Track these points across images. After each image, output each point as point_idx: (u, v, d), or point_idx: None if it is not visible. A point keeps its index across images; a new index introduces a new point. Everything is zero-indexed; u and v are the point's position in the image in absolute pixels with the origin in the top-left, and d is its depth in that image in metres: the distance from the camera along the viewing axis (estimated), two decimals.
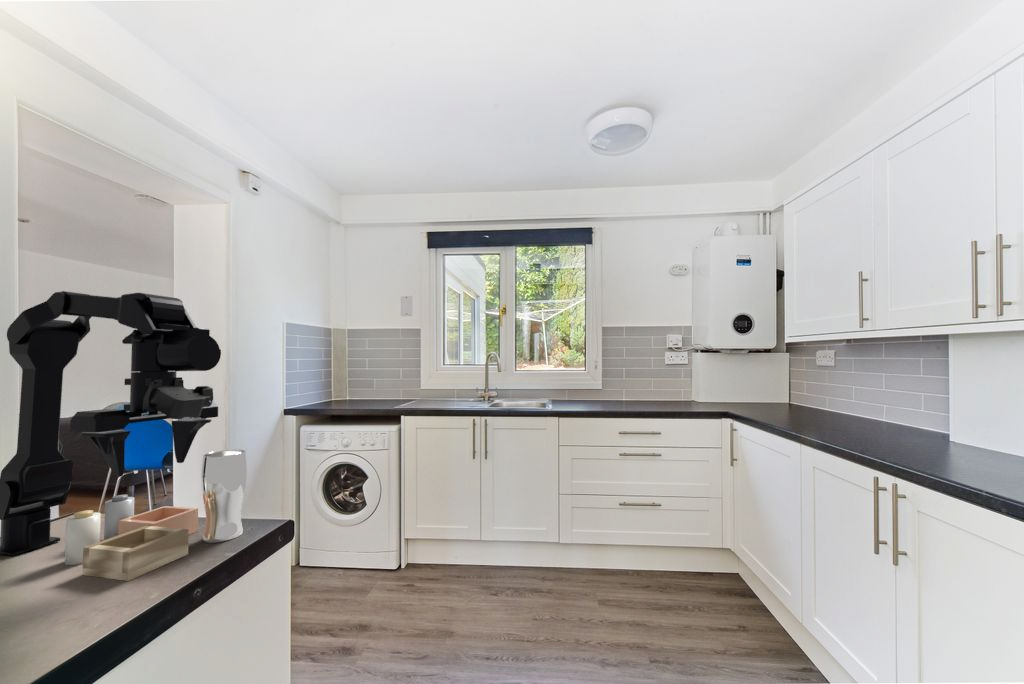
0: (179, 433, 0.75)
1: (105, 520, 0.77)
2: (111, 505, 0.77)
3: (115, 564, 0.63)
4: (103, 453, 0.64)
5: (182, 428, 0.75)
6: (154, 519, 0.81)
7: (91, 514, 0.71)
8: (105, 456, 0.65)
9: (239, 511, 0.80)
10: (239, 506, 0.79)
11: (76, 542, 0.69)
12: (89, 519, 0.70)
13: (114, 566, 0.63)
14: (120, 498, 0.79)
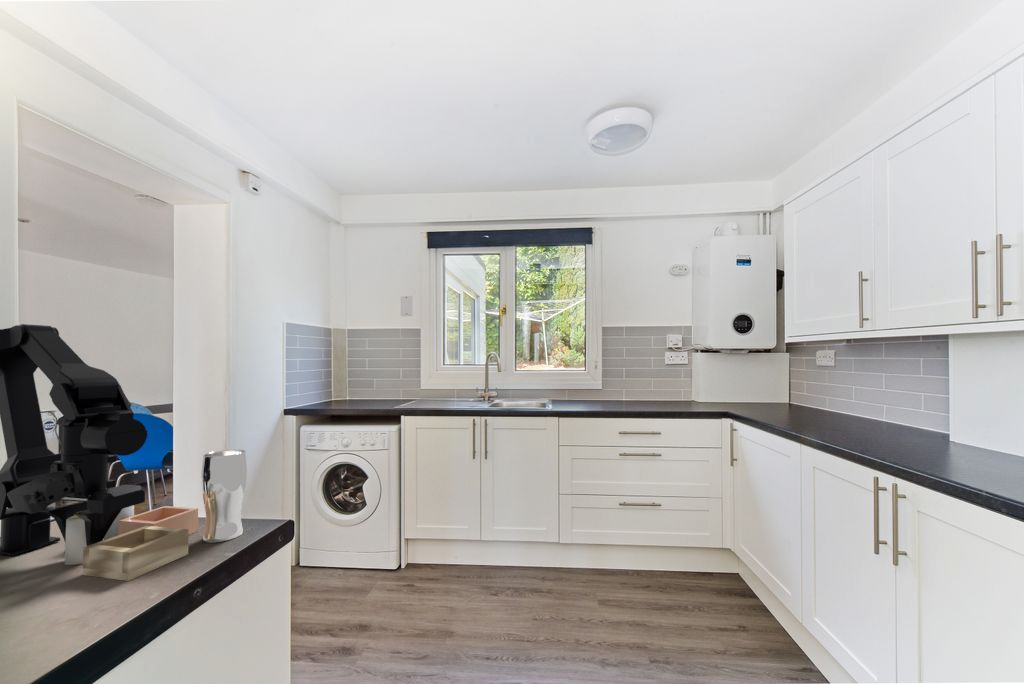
0: None
1: None
2: None
3: (115, 564, 0.63)
4: None
5: None
6: (154, 519, 0.81)
7: None
8: None
9: (239, 511, 0.80)
10: (239, 506, 0.79)
11: (76, 542, 0.69)
12: None
13: (114, 566, 0.63)
14: None
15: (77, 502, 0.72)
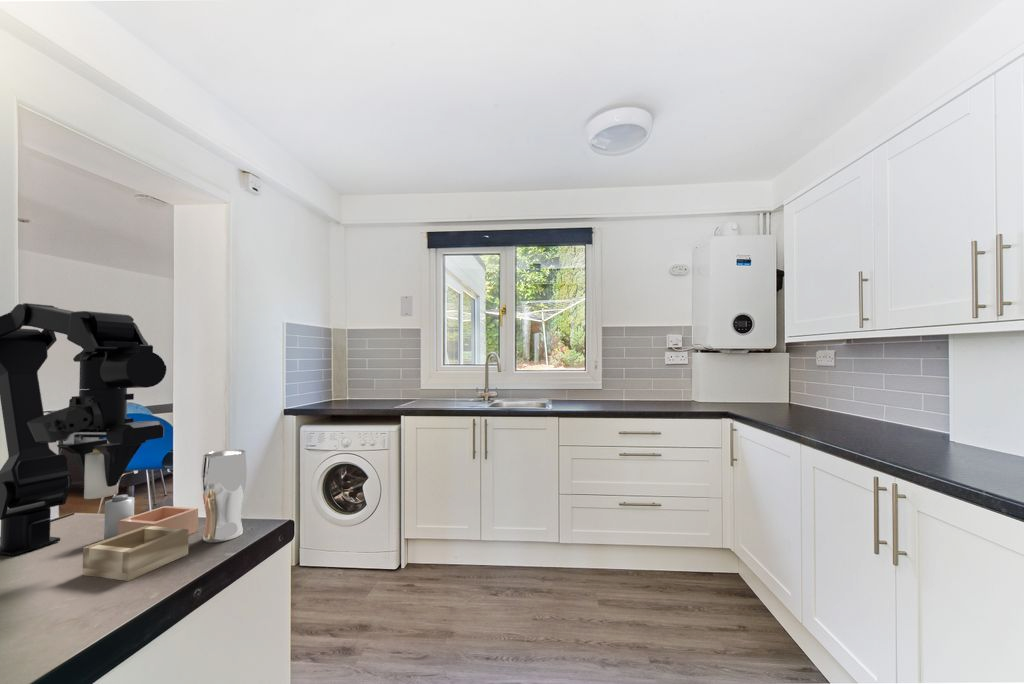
0: None
1: (105, 520, 0.77)
2: (111, 505, 0.77)
3: (115, 564, 0.63)
4: None
5: None
6: (154, 519, 0.81)
7: None
8: None
9: (239, 511, 0.80)
10: (239, 506, 0.79)
11: (95, 476, 0.68)
12: None
13: (114, 566, 0.63)
14: (120, 498, 0.79)
15: (95, 440, 0.72)
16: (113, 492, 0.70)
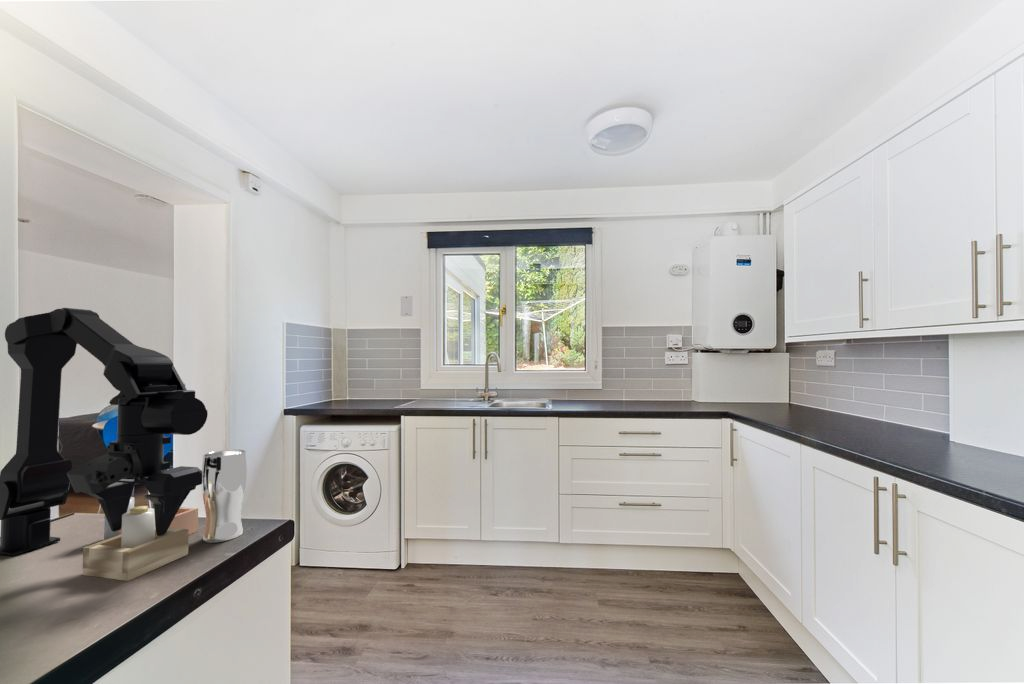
0: None
1: (105, 520, 0.77)
2: None
3: (115, 564, 0.63)
4: None
5: None
6: None
7: (146, 510, 0.69)
8: None
9: (239, 511, 0.80)
10: (239, 506, 0.79)
11: (133, 538, 0.66)
12: (145, 515, 0.68)
13: (114, 566, 0.63)
14: None
15: (120, 484, 0.71)
16: None
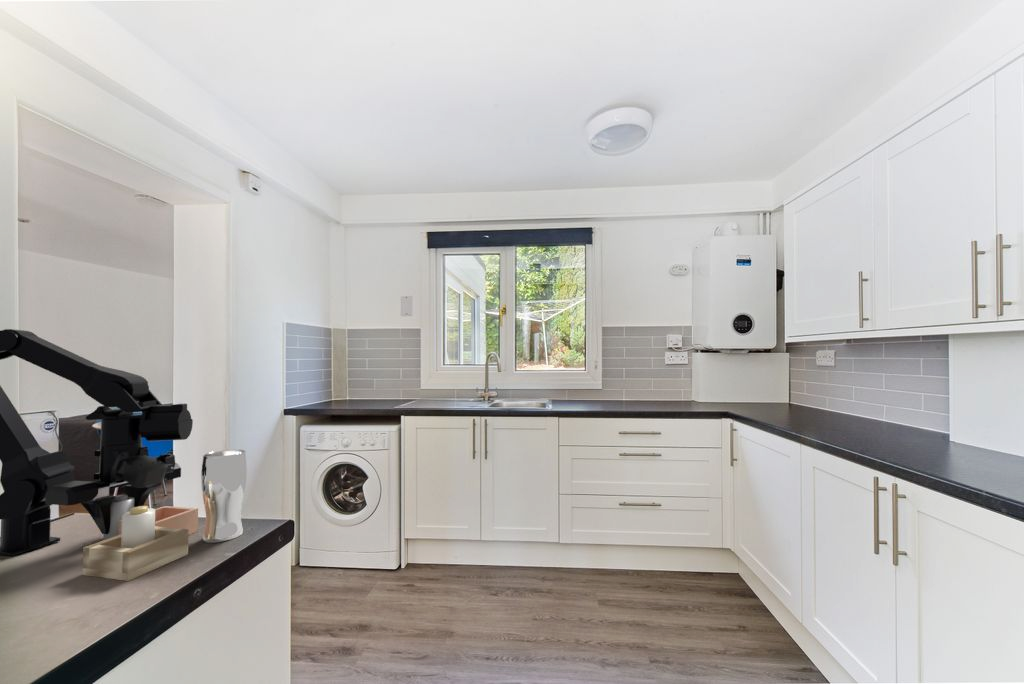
0: None
1: None
2: (111, 504, 0.77)
3: (115, 564, 0.63)
4: (92, 515, 0.76)
5: (134, 493, 0.82)
6: None
7: (146, 510, 0.69)
8: (93, 517, 0.76)
9: (239, 511, 0.80)
10: (239, 506, 0.79)
11: (133, 538, 0.66)
12: (145, 515, 0.68)
13: (114, 566, 0.63)
14: (120, 498, 0.79)
15: None
16: None
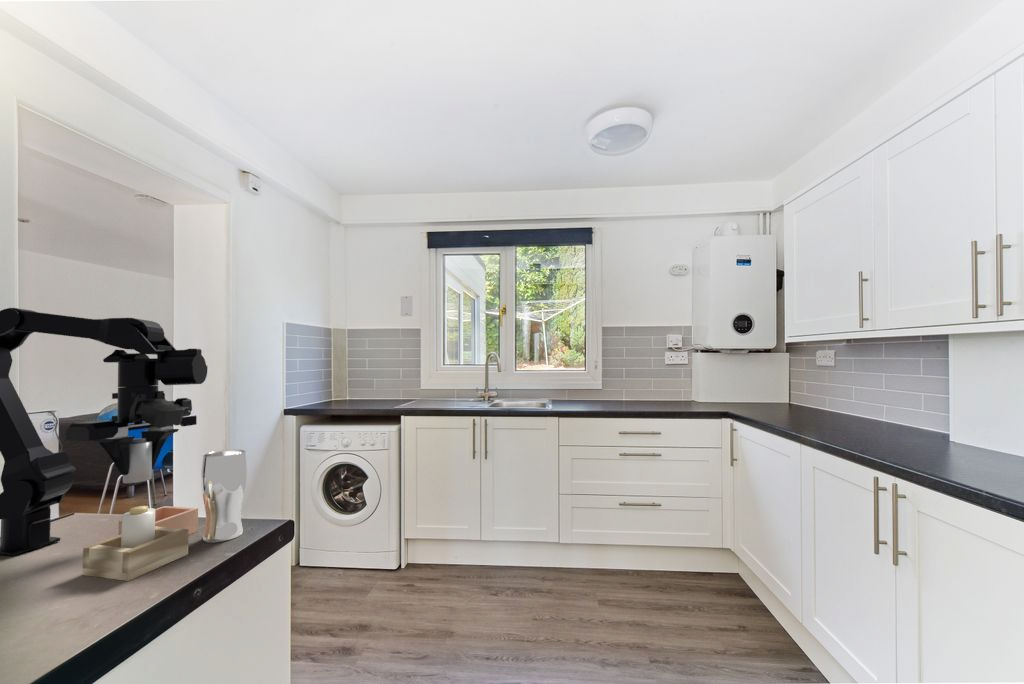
0: None
1: None
2: (130, 446, 0.78)
3: (115, 564, 0.63)
4: (111, 455, 0.77)
5: (151, 437, 0.82)
6: None
7: (146, 510, 0.69)
8: (113, 458, 0.77)
9: (239, 511, 0.80)
10: (239, 506, 0.79)
11: (133, 538, 0.66)
12: (145, 515, 0.68)
13: (114, 566, 0.63)
14: (138, 440, 0.79)
15: None
16: None
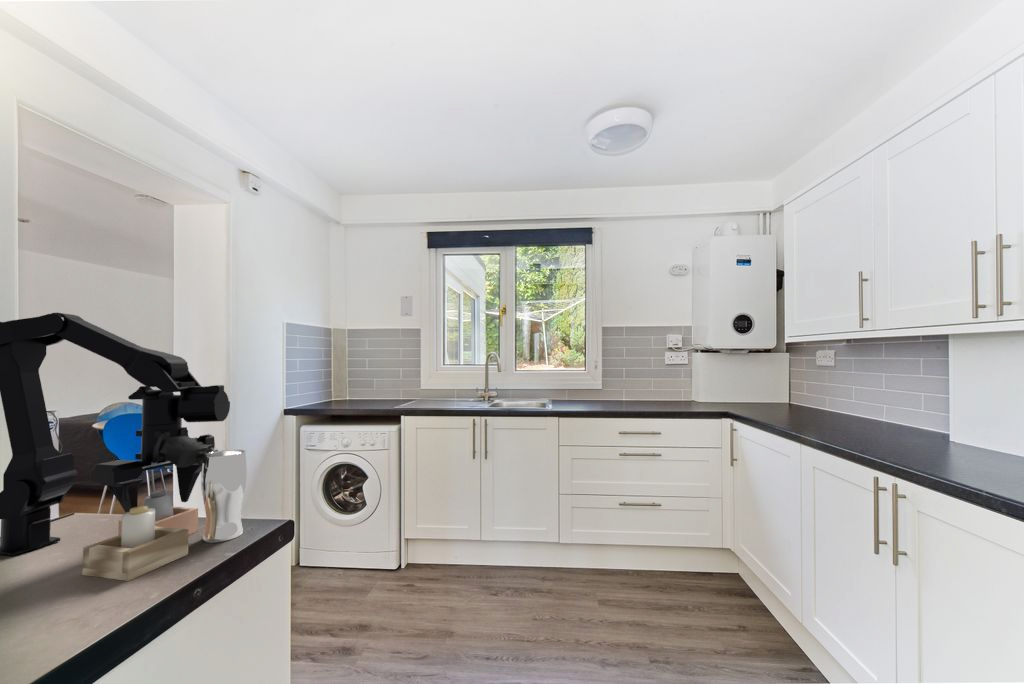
0: (183, 475, 0.84)
1: None
2: (150, 501, 0.77)
3: (115, 564, 0.63)
4: (118, 499, 0.74)
5: (186, 471, 0.84)
6: None
7: (146, 510, 0.69)
8: (120, 501, 0.74)
9: (239, 511, 0.80)
10: (239, 506, 0.79)
11: (133, 538, 0.66)
12: (145, 515, 0.68)
13: (114, 566, 0.63)
14: (158, 494, 0.78)
15: None
16: None
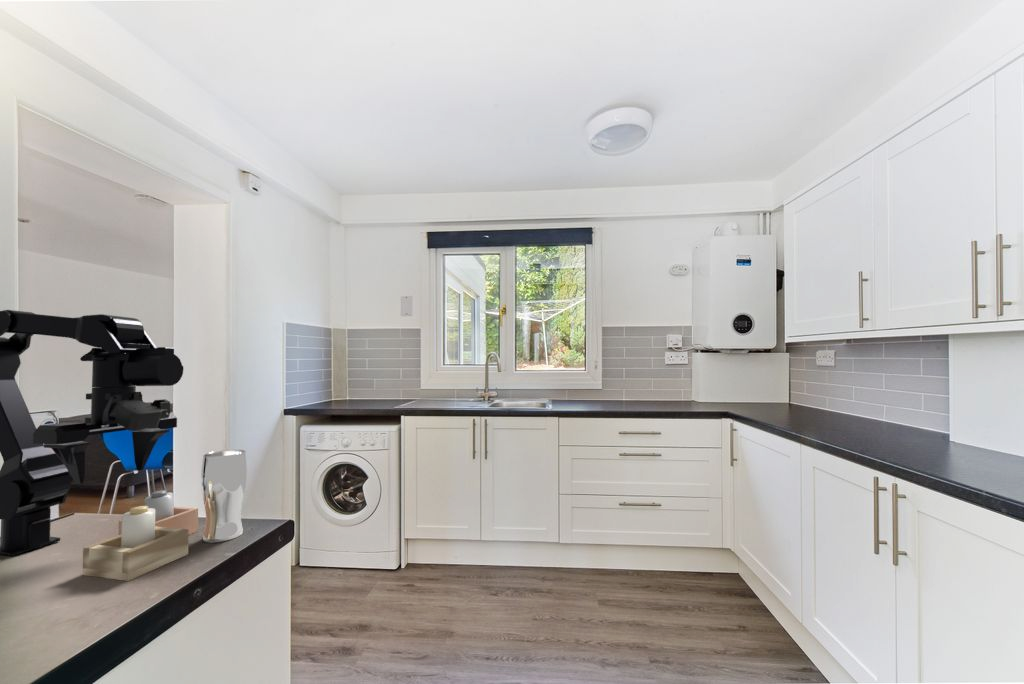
0: (139, 443, 0.81)
1: None
2: (150, 501, 0.77)
3: (115, 564, 0.63)
4: (65, 463, 0.70)
5: (142, 438, 0.81)
6: None
7: (146, 510, 0.69)
8: (66, 465, 0.70)
9: (239, 511, 0.80)
10: (239, 506, 0.79)
11: (133, 538, 0.66)
12: (145, 515, 0.68)
13: (114, 566, 0.63)
14: (158, 494, 0.78)
15: None
16: None
